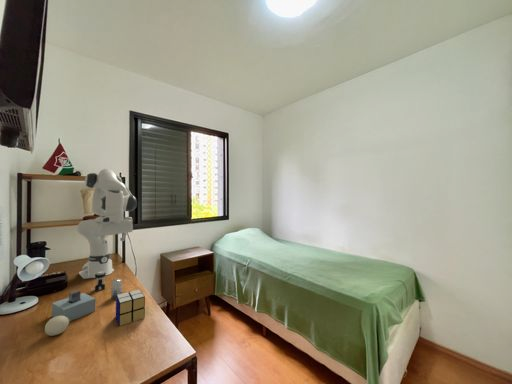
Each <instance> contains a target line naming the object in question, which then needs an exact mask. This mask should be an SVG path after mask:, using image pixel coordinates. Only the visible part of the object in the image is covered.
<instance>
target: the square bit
mask: <svg viewBox="0 0 512 384" xmlns="http://www.w3.org/2000/svg"><path fill="white" fill-rule="evenodd" d="M80 294H81V291H80V290H78V289H76V290H72V291H70V292H68V298H69V303H74V302H77V301H80Z"/></svg>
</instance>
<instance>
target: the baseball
mask: <svg viewBox="0 0 512 384" xmlns="http://www.w3.org/2000/svg"><path fill="white" fill-rule="evenodd" d="M69 324H70V321H69V319H68V318H67V317H65V316H56V317H52V318H50V319H49V320H48V321H47V322H46V324H45V325H44V332H45V334H46V335H47V336H51V337H53V336H54V337H55V336H58V335H59V334H62V333H63V332H64V331H65V330H66V329H67V327H68V325H69Z"/></svg>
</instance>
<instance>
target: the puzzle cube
mask: <svg viewBox="0 0 512 384" xmlns="http://www.w3.org/2000/svg"><path fill="white" fill-rule="evenodd" d="M145 307H146V297H145V295H144V293H143V292H142V290H141V289H139V288H138V289H136V290H132V291H129V292H123V293H122V294H119V295H117V296H116V299H115V318H116V322H117V325H118V327H121V326H125V325H128V324H131V323H135V322H137V321H141V320H143V318H144V319H145V318H146V317H145V311H146V308H145ZM140 319H141V320H140ZM134 321H135V322H134Z"/></svg>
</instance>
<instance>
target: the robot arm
mask: <svg viewBox="0 0 512 384" xmlns="http://www.w3.org/2000/svg"><path fill="white" fill-rule="evenodd" d="M84 184H85V186H86V187H87V188H91V189H94V190H93V194H92V199H91V200H92V201H91V211H92V213H93V214H95V215H97V216H99V217H96V218H93V219H86V220H81V221H80V222H79V223H78V224H77V226H76V230H77V233H78V234H79V235H80V236H82V237H83V238H85V239H86V240H87V241H88V243H89V251H90V253H89V255H88V261H87V262H86V263H84V264H83V266H82V267H81V271H79V272H78V275H79V276H80V277H81V278H82V279H83V280H84V279H96V278H95V274H97V272H101V271H104V273H106V274H105V277H106V276H108V275H111V274H112V273H113V272H115V269H114V268H113V260H112V259H111V252H110V251H111V249H110V247H111V246H110V245H111V244H110V242H109V241H108V240H107V239H105V238H106V236H113V235H120V234H121V235H122V236H121V237H120V238H119V241H120V242H124V241H125V238H126V237H127V235H128V233H132V232H133V231H134V226H133V218H132V217H131V216H124V215H125V214H124V212H133V211H134V210H135V209H136V208H137V207H138V201H137V198H136V196H134V195H133V194H132V193H131V191H130V189H129V188H128V187H127V185H126V184H125V183H123V179H122V177H121V176H118V175H117V174H115V171H113V170H112V169H109V168H104V169H103V168H102V169H101V170H100V171H99V173H95V172H91V173H88V174H86V175H85V177H84Z"/></svg>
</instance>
